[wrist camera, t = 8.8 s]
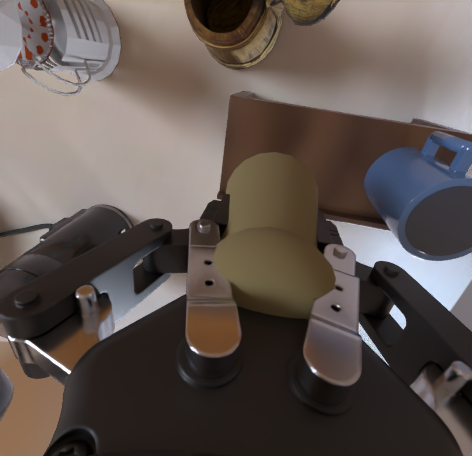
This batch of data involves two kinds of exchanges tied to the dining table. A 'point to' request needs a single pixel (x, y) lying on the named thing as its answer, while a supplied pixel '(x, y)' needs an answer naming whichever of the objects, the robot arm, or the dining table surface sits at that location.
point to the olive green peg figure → (273, 238)
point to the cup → (425, 197)
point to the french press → (60, 38)
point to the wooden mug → (248, 25)
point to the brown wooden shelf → (324, 148)
